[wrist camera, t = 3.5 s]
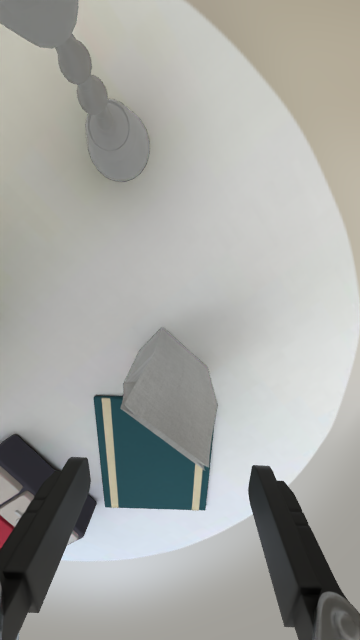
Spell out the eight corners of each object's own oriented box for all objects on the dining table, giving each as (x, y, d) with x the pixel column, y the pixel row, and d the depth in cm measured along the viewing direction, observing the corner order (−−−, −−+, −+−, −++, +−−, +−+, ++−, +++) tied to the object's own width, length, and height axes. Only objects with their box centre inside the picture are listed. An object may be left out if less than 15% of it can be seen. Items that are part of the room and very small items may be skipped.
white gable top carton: (162, 326, 20) (144, 385, 10) (207, 367, 21) (230, 452, 12) (139, 350, 21) (103, 425, 11) (184, 388, 22) (187, 484, 12)
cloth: (106, 503, 27) (104, 507, 27) (94, 395, 22) (93, 397, 22) (204, 507, 27) (205, 510, 27) (215, 399, 22) (216, 402, 22)
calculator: (-15, 460, 20) (81, 545, 23) (19, 428, 24) (98, 503, 27) (-76, 503, 22) (19, 577, 25) (-34, 466, 26) (44, 533, 29)
